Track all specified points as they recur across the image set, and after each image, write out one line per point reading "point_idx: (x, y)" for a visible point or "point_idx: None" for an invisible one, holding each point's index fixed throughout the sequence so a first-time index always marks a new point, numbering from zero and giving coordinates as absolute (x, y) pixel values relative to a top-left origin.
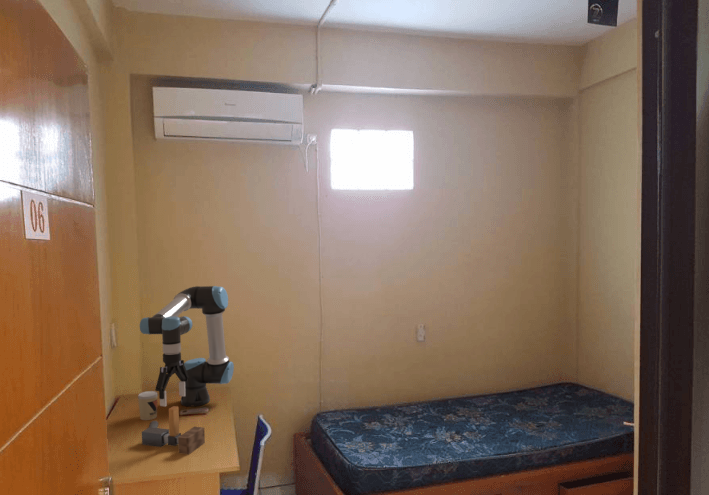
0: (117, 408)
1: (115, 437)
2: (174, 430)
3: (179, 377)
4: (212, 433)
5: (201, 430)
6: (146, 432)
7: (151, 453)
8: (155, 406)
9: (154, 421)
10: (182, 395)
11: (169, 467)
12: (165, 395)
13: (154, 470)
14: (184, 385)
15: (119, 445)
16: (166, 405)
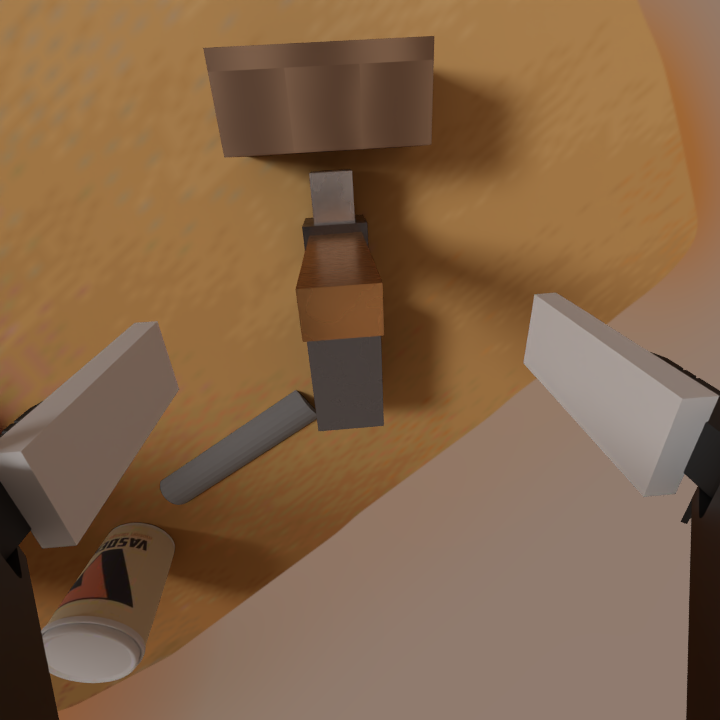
0: (148, 658)
1: (352, 514)
2: (360, 239)
3: (24, 623)
4: (89, 125)
5: (248, 48)
6: (382, 401)
7: (445, 288)
8: (102, 568)
9: (174, 495)
10: (162, 353)
11: (583, 66)
12: (644, 353)
13: (620, 131)
14: (61, 405)
15: (408, 458)
16: (537, 296)
